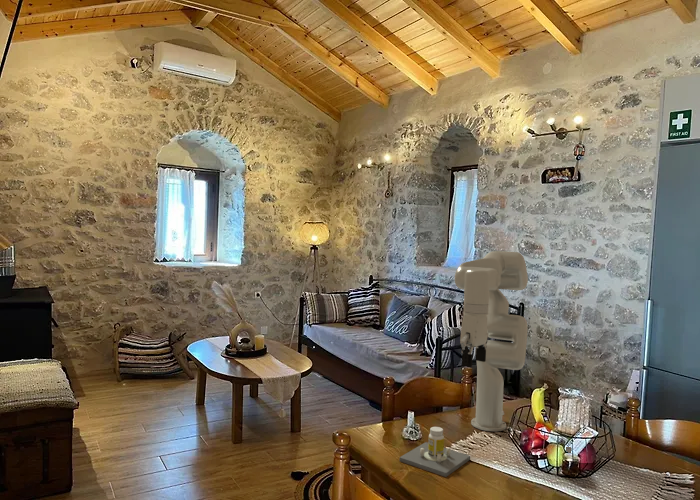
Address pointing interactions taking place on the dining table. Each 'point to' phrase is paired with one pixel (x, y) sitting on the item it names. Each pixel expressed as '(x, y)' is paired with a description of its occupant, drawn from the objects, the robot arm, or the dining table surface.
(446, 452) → the pin tray
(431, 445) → the supplement bottle
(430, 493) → the dining table surface
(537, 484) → the dining table surface
